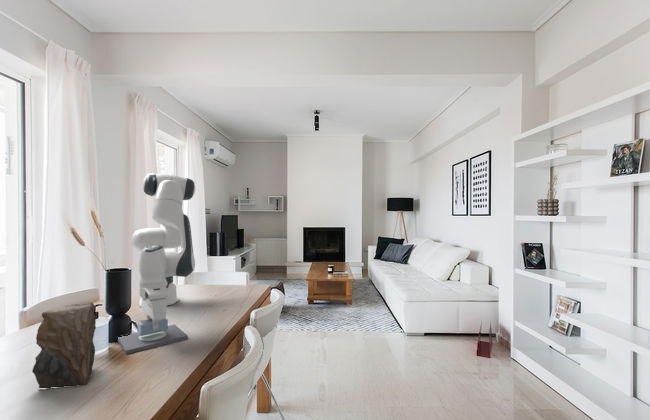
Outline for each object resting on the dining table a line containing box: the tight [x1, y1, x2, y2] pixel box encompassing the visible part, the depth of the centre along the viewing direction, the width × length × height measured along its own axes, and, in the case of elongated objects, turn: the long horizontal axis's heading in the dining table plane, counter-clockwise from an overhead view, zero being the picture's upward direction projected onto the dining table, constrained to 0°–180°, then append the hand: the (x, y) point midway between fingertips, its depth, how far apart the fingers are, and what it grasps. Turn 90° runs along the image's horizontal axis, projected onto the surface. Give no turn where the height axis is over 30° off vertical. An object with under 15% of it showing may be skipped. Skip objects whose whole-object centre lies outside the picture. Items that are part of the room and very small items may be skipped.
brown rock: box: [31, 302, 97, 389], centre depth 94 cm, size 13×13×20 cm
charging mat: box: [117, 324, 189, 355], centre depth 121 cm, size 16×20×1 cm
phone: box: [137, 317, 169, 336], centre depth 121 cm, size 5×9×4 cm, turn 131°
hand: (152, 326), depth 121 cm, fingers closed on phone, 5 cm apart
